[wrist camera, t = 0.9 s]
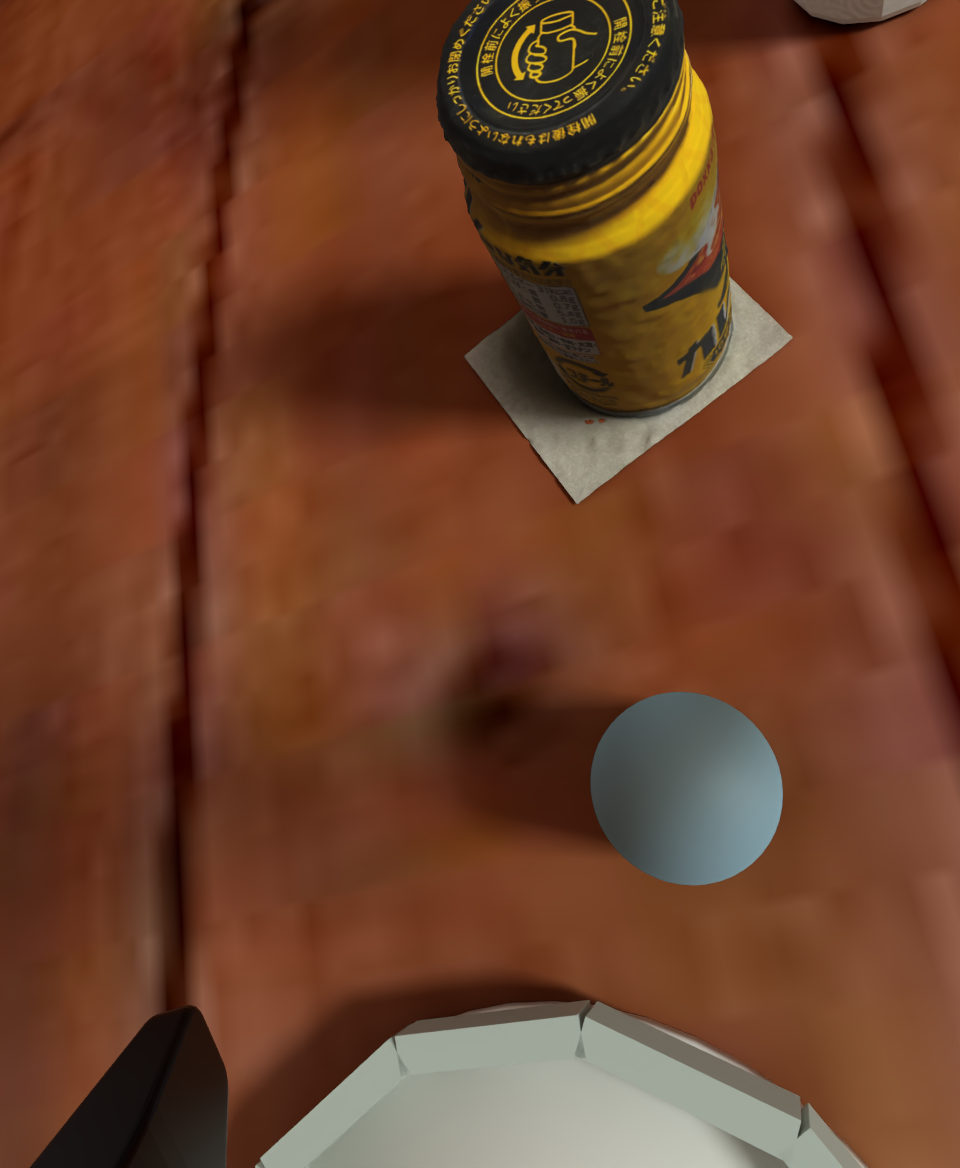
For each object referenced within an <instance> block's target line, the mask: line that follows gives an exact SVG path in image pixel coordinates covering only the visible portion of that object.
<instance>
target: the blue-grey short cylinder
mask: <svg viewBox="0 0 960 1168" xmlns="http://www.w3.org/2000/svg"><path fill="white" fill-rule="evenodd" d="M590 781H591V796H592V802H593V806H594V810H595V813H596V816H597V819H598V821H599V823H600V826H601V828H602V830H603V831H604V833H605V835H606V837H607V838H608V840H609V841H610V842H611V844H612V845H613V846H614V848H615V849H616V850H617V851H618V852H619V853H620V854H621V855H622V856H623V857H624V858H625V859H626V860H627V861H629V862H630V863H631V864H632V865H634V866H635V867H637V868H638V869H640V870H641V871H643V872H644V873H646V874H649V875H651V876H653V877H655V878H657V879H660V880H664V881H667V882H670V883H676V884H681V885H703V884H710V883H715V882H719V881H722V880H725V879H727V878H730V877H732V876H734V875H736V874H738V873H739V872H741V871H743V870H744V869H746V868H747V867H748V866H749V865H751V864H752V863H753V862H754V861H755V860H756V859H757V858H758V857H759V856H760V855H761V854H762V853H763V851H764V850H765V849H766V847H767V846H768V844H769V843H770V841H771V839H772V837H773V835H774V833H775V831H776V828H777V825H778V823H779V820H780V815H781V810H782V799H783V790H782V779H781V774H780V770H779V766H778V763H777V760H776V758H775V755H774V753H773V751H772V749H771V747H770V745H769V743H768V742H767V740H766V739H765V737H764V736H763V735H762V733H761V732H760V731H759V729H758V728H757V727H756V726H755V725H754V724H753V723H752V722H751V721H750V720H749V719H748V718H747V717H746V716H744V715H743V714H742V713H741V712H739V711H738V710H736V709H735V708H733V707H732V706H730V705H728V704H726V703H724V702H722V701H720V700H718V699H715V698H712V697H710V696H706V695H702V694H697V693H689V692H670V693H664V694H659V695H655V696H652V697H649V698H646V699H644V700H642V701H640V702H637V703H636V704H634V705H632V706H631V707H629V708H628V709H626V710H625V711H624V712H623V713H621V714H620V715H619V716H618V717H617V718H616V719H615V720H614V721H613V722H612V723H611V725H610V726H609V727H608V729H607V730H606V732H605V733H604V735H603V736H602V738H601V740H600V742H599V744H598V747H597V749H596V752H595V755H594V759H593V763H592V768H591V779H590Z"/></svg>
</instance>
